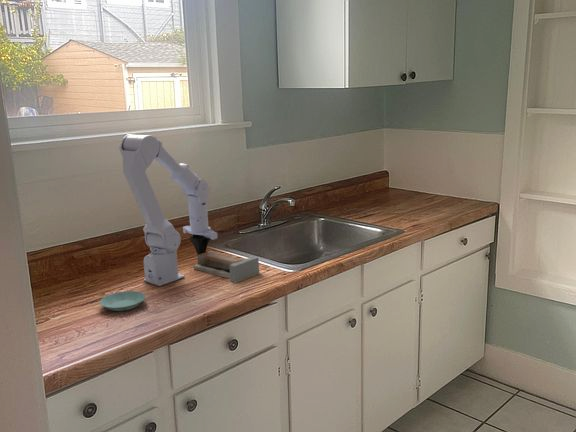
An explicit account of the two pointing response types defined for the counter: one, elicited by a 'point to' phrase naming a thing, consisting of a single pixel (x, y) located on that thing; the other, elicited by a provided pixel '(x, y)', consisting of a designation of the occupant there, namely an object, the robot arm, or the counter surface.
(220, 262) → the packaged product
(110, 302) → the saucer
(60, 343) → the counter surface
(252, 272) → the board
